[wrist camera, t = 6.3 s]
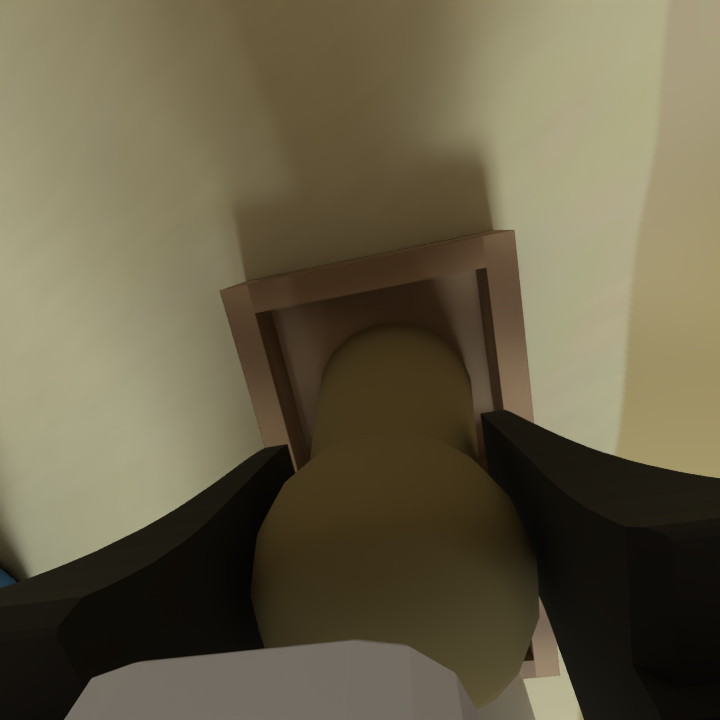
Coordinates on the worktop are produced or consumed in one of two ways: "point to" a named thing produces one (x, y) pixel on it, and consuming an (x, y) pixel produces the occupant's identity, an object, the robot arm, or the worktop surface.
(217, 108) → the worktop surface
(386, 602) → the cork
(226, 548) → the robot arm
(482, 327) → the caddy
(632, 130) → the worktop surface
